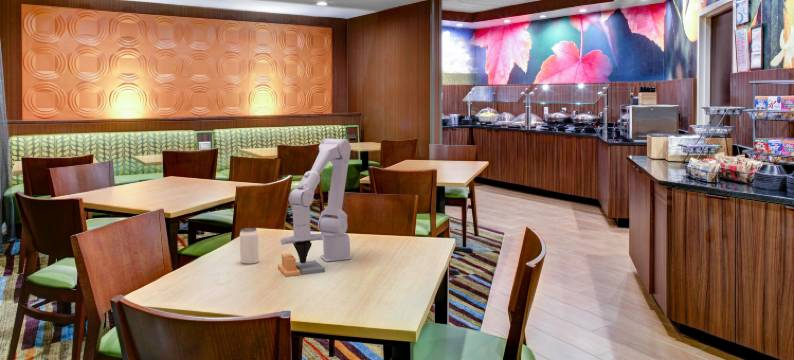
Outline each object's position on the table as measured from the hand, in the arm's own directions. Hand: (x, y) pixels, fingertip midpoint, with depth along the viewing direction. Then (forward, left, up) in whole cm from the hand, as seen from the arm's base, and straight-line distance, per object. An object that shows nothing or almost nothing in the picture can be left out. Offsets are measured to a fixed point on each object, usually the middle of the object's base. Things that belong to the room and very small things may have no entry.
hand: (302, 262), depth 211 cm
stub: (+5, 0, -2) cm, 5 cm away
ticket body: (-2, 0, -2) cm, 3 cm away
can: (+15, -18, -3) cm, 24 cm away
